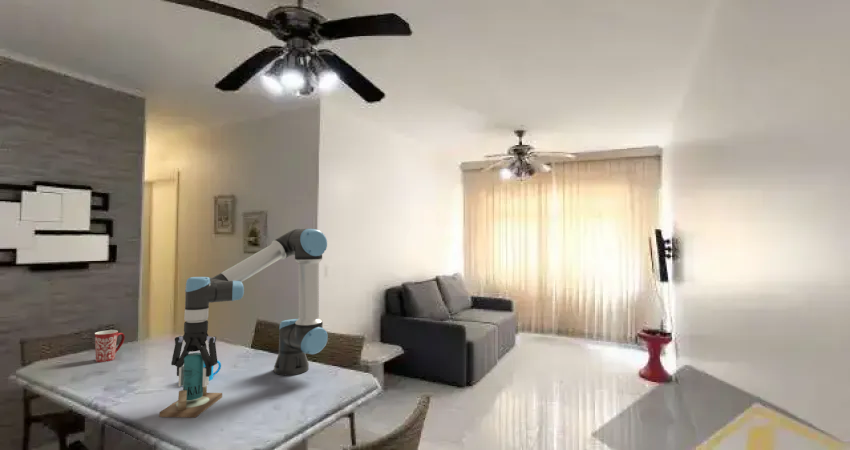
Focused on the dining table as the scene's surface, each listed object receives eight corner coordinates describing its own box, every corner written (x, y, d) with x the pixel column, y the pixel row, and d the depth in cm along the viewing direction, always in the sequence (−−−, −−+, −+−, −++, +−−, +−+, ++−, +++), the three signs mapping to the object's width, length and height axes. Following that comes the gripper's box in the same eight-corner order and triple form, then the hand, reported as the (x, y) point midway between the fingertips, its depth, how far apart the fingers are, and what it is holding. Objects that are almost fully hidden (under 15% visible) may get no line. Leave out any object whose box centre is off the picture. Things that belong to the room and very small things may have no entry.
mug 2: (196, 384, 168) (197, 363, 168) (187, 380, 172) (188, 360, 173) (225, 376, 177) (226, 357, 178) (215, 373, 182) (216, 354, 183)
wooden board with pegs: (222, 397, 154) (223, 376, 154) (195, 417, 136) (196, 394, 136) (190, 396, 154) (191, 376, 154) (159, 416, 136) (160, 393, 136)
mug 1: (99, 363, 192) (101, 334, 193) (89, 361, 196) (90, 332, 197) (128, 357, 204) (130, 329, 204) (118, 354, 208) (119, 328, 208)
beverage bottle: (187, 398, 148) (189, 342, 149) (206, 397, 149) (207, 341, 150) (178, 405, 142) (179, 346, 143) (198, 404, 142) (199, 346, 143)
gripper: (230, 319, 150) (227, 382, 149) (174, 318, 150) (171, 381, 149) (219, 323, 143) (217, 389, 142) (160, 322, 143) (157, 388, 142)
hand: (193, 385), depth 145 cm, fingers open, 8 cm apart
